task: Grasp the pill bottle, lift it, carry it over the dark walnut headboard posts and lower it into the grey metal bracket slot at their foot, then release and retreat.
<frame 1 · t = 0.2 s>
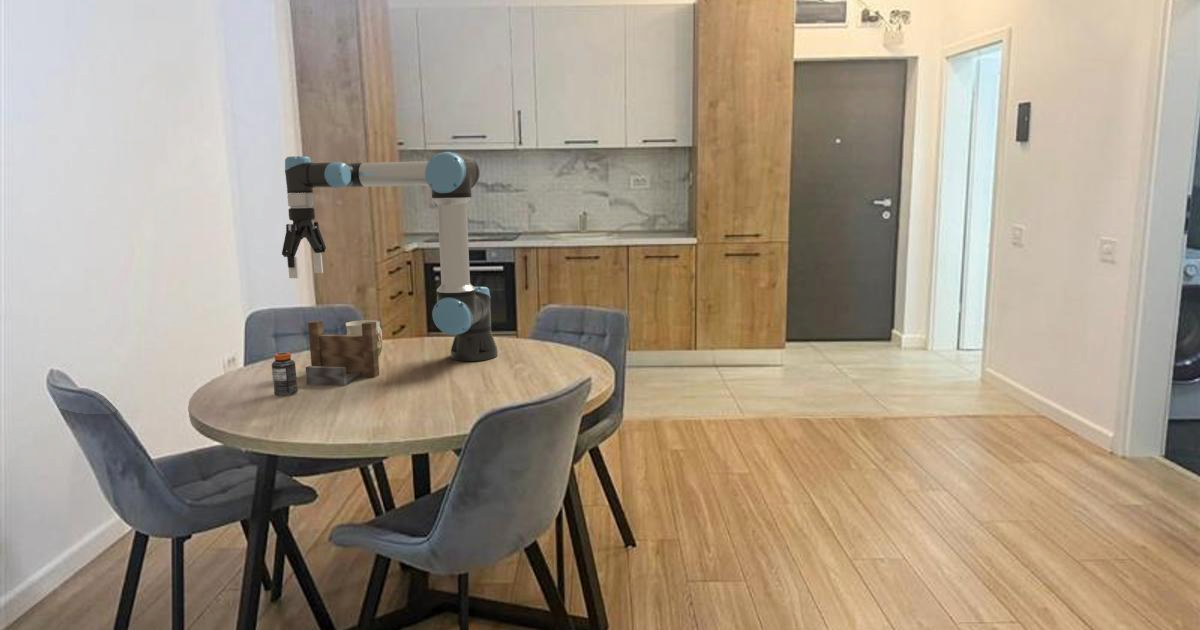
hand: (306, 275, 245), 28 cm above the table, fingers open, 13 cm apart
pitcher: (367, 363, 247), on the table
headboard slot: (336, 379, 226), on the table
pill bottle: (286, 394, 212), on the table
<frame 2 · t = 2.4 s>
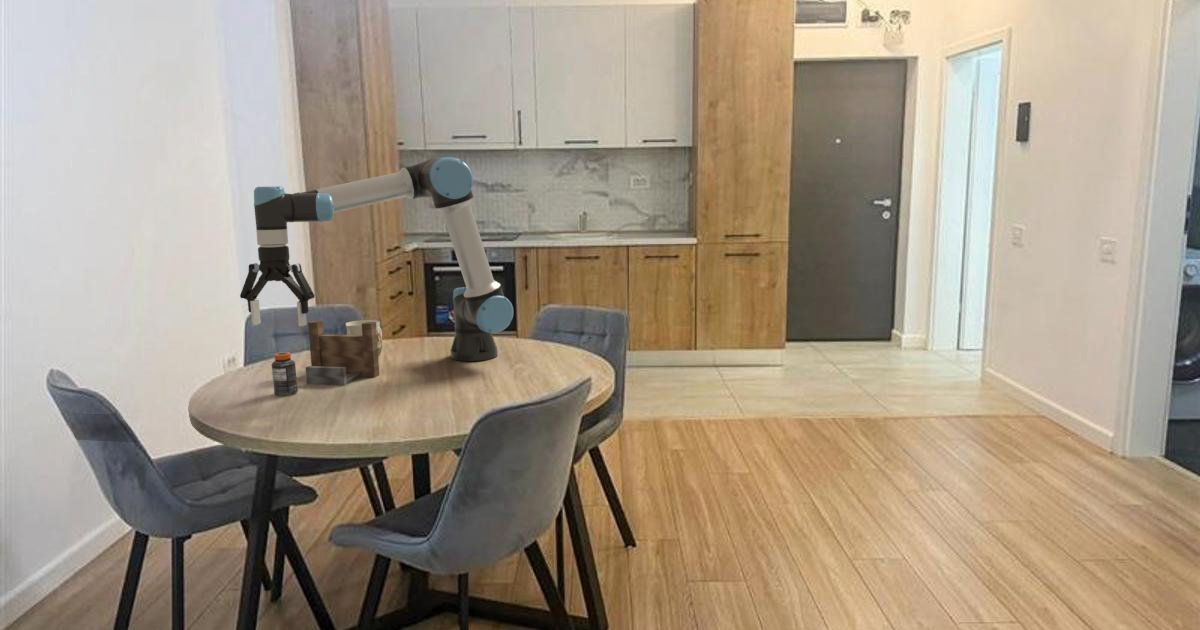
hand: (279, 325, 209), 19 cm above the table, fingers open, 13 cm apart
nothing on the table moved.
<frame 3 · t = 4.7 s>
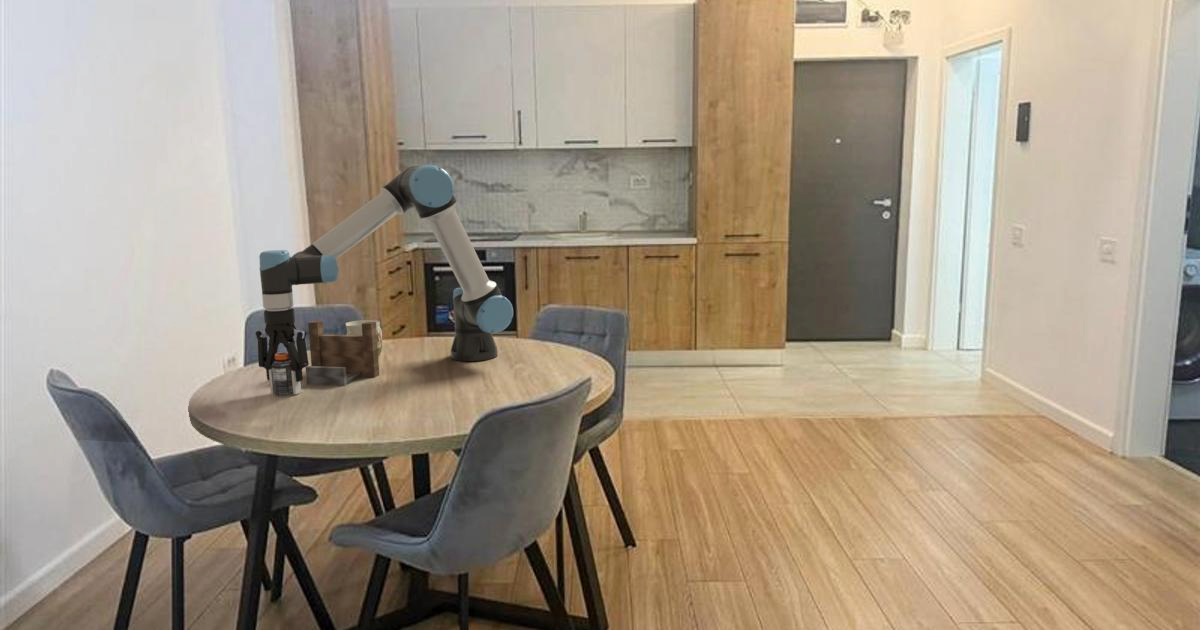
hand: (286, 392, 212), 0 cm above the table, fingers closed on pill bottle, 6 cm apart
pill bottle: (286, 394, 212), on the table, touching gripper
everything else where it was.
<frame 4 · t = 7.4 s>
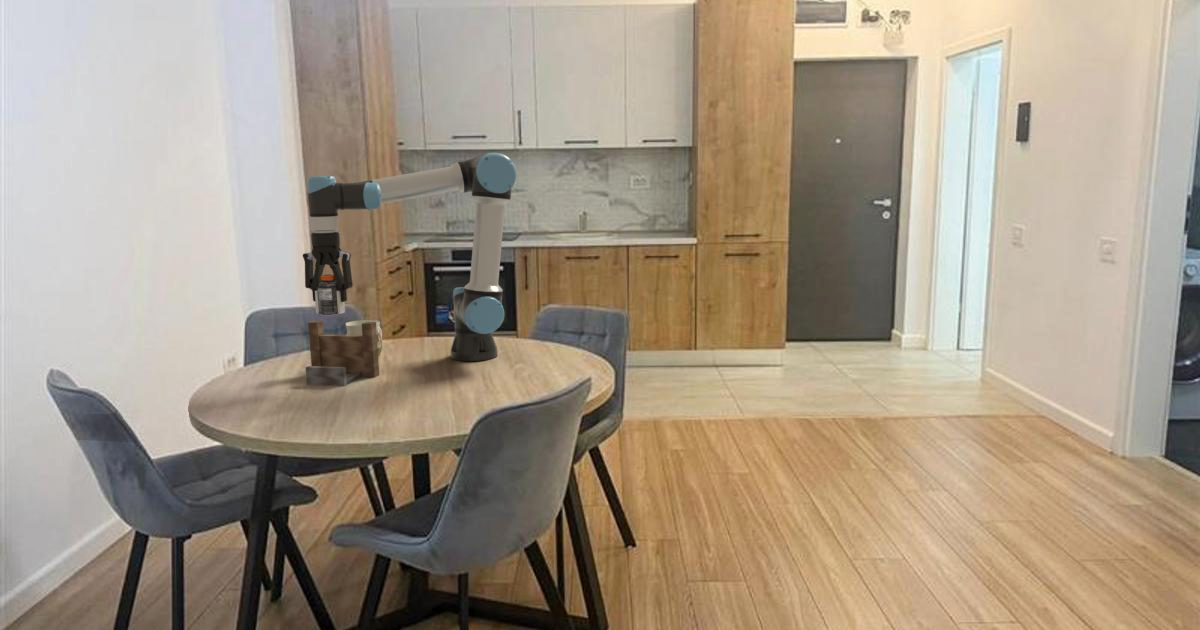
hand: (330, 312, 223), 20 cm above the table, fingers closed on pill bottle, 6 cm apart
pill bottle: (330, 314, 223), point 19 cm above the table, touching gripper
everything else where it was.
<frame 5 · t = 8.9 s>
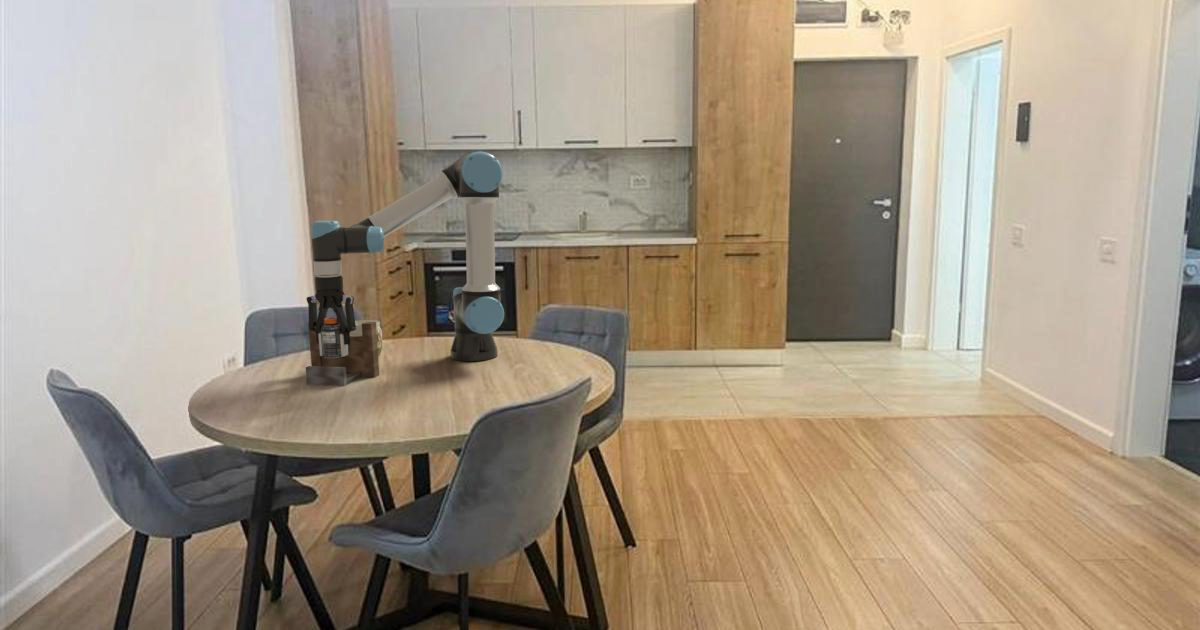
hand: (334, 354, 225), 7 cm above the table, fingers closed on pill bottle, 6 cm apart
pill bottle: (334, 356, 225), point 7 cm above the table, touching gripper
everything else where it was.
when the fingers open (2 cm above the table, at t = 10.2 s): pill bottle drops 1 cm, resting on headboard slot.
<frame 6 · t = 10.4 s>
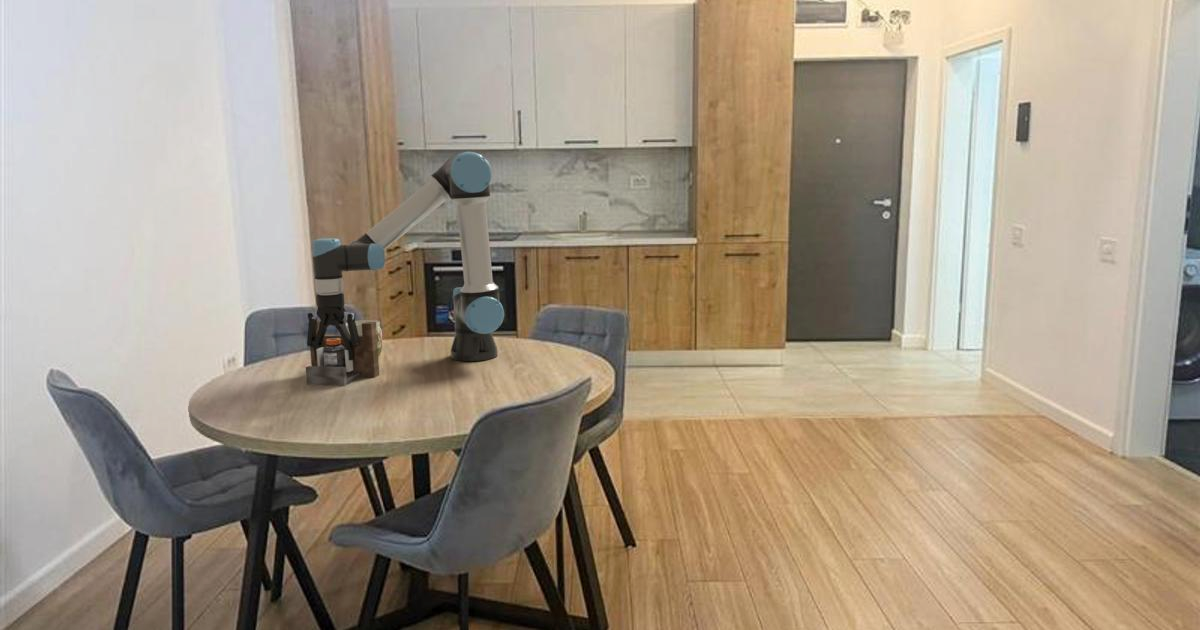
hand: (335, 370, 226), 3 cm above the table, fingers open, 8 cm apart
pill bottle: (336, 377, 226), point 1 cm above the table, touching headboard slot
everything else where it was.
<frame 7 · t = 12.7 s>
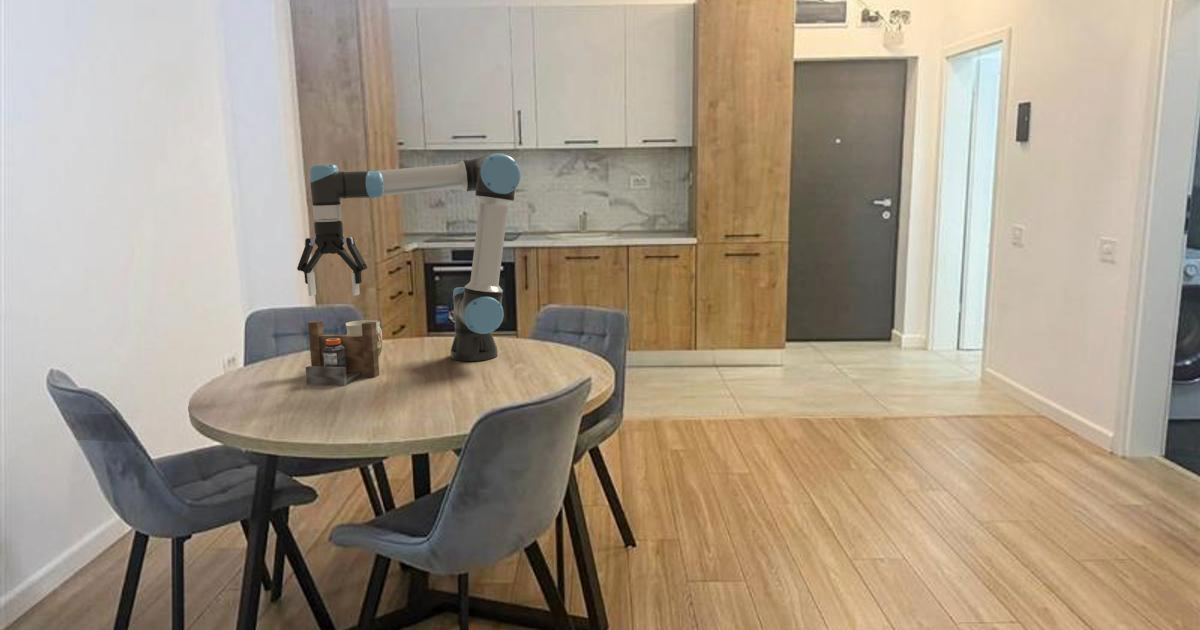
hand: (334, 295, 223), 25 cm above the table, fingers open, 13 cm apart
nothing on the table moved.
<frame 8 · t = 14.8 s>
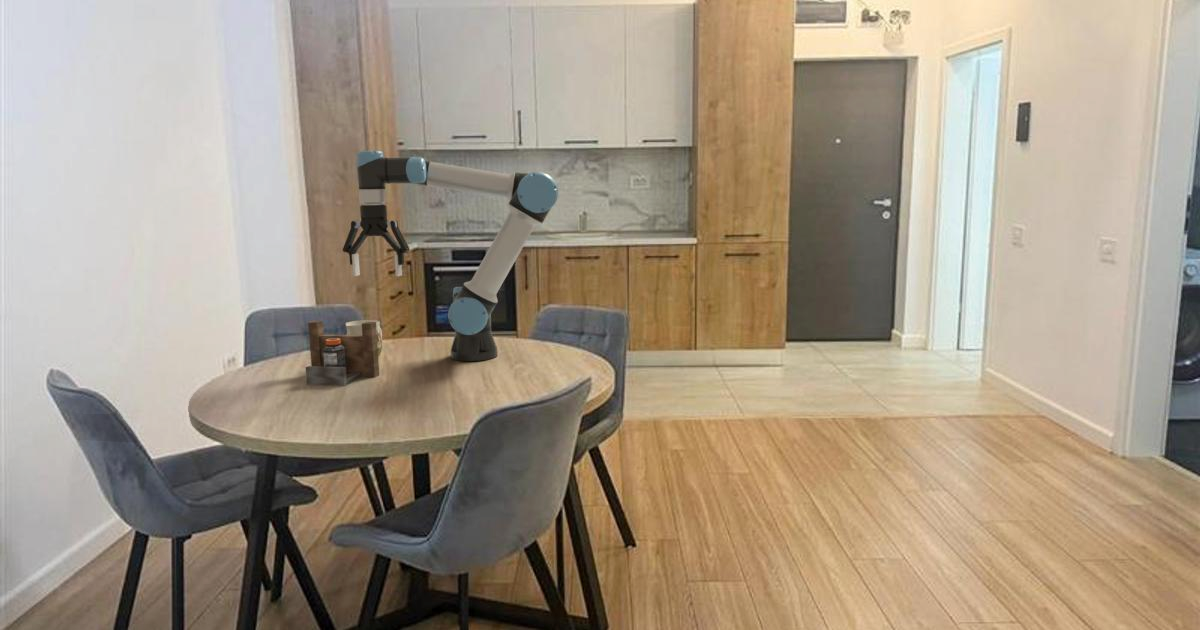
hand: (377, 275, 234), 29 cm above the table, fingers open, 13 cm apart
nothing on the table moved.
at the end: pill bottle inside the target area on the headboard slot (0.0 cm from its centre), point 0.6 cm above the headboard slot's base; pill bottle tilted 0°; the gripper is holding nothing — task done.
